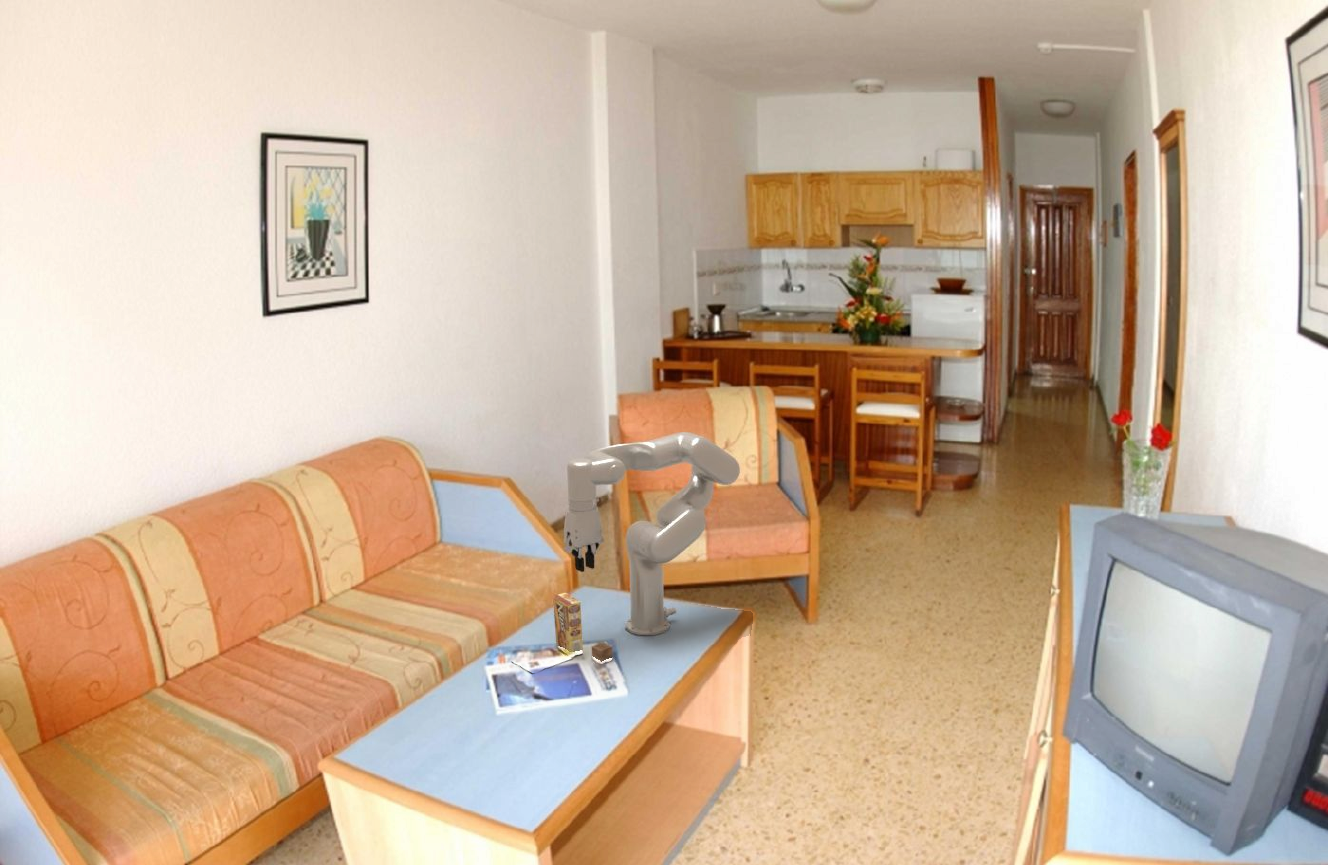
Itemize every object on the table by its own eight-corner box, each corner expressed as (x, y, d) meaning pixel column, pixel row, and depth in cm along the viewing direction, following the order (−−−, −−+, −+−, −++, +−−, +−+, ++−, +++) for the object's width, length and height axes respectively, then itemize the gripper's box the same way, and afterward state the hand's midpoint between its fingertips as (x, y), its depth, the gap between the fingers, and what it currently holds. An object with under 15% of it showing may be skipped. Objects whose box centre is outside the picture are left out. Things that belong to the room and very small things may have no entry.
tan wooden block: (603, 655, 274) (603, 642, 273) (613, 660, 271) (612, 646, 270) (592, 660, 271) (591, 646, 270) (601, 665, 268) (600, 651, 267)
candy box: (583, 654, 275) (581, 601, 271) (570, 658, 272) (567, 605, 269) (568, 643, 282) (566, 591, 279) (554, 647, 280) (552, 595, 276)
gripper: (597, 496, 281) (599, 558, 285) (549, 507, 270) (552, 572, 274) (614, 501, 275) (616, 565, 279) (566, 513, 265) (569, 579, 269)
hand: (585, 568), depth 277 cm, fingers open, 2 cm apart
